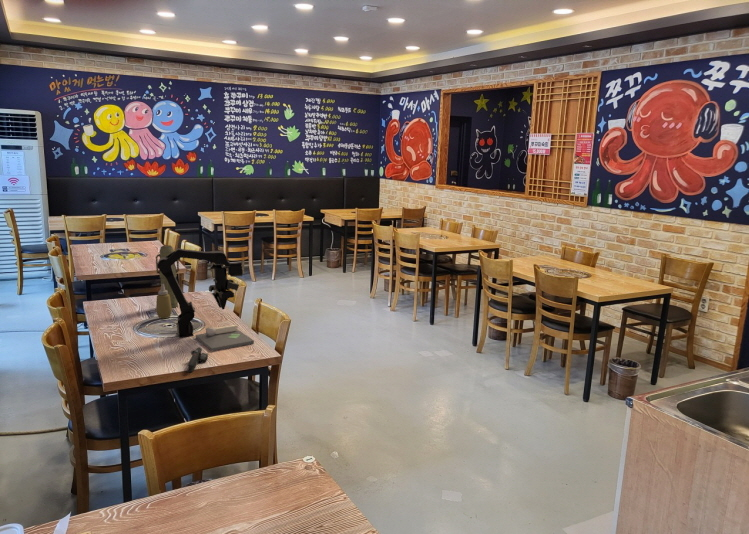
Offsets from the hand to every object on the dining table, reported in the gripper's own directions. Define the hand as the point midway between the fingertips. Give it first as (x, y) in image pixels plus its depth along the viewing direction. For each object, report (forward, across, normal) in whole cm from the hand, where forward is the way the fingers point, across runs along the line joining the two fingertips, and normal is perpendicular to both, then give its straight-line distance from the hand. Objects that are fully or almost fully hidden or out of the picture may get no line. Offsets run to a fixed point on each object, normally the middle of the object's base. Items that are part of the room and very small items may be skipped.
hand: (221, 308), depth 275 cm
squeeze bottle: (+12, +40, +17) cm, 45 cm away
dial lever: (+10, -6, +3) cm, 12 cm away
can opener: (+12, -36, +25) cm, 45 cm away
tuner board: (+12, -13, +4) cm, 18 cm away
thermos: (+12, +58, +9) cm, 60 cm away
